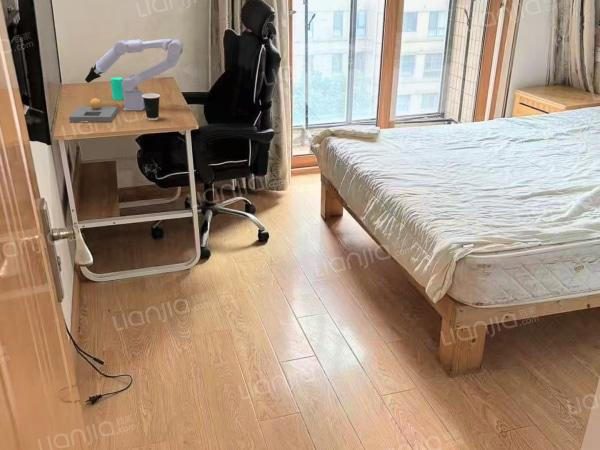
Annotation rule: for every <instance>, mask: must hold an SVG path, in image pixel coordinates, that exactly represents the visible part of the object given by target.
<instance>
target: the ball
mask: <svg viewBox="0 0 600 450" xmlns="http://www.w3.org/2000/svg"><path fill="white" fill-rule="evenodd" d="M89 104H90V107H92V108H93V109H98V108H100V107H102V102H101V100H100V99H99V98H96V97H94V98H92V99H91V100H90V102H89Z"/></svg>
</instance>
